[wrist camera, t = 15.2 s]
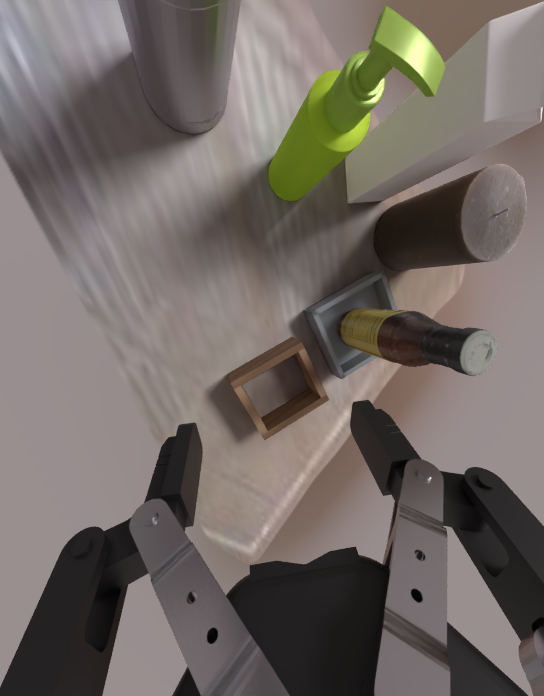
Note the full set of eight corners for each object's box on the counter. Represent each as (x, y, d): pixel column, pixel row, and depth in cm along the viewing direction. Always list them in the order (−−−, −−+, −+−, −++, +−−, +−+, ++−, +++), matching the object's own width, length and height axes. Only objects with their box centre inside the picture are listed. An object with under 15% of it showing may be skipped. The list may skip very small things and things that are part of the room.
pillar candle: (362, 245, 39) (456, 221, 25) (398, 189, 38) (514, 131, 24) (403, 282, 42) (506, 280, 28) (436, 231, 42) (557, 202, 28)
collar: (227, 374, 37) (230, 383, 34) (291, 336, 39) (301, 341, 35) (258, 426, 40) (264, 440, 37) (317, 390, 42) (329, 399, 38)
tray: (303, 310, 38) (311, 312, 36) (370, 272, 40) (384, 270, 37) (331, 373, 42) (341, 379, 39) (392, 335, 44) (406, 339, 41)
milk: (346, 204, 37) (533, 93, 16) (344, 155, 36) (545, -36, 15) (383, 201, 38) (600, 95, 18) (382, 154, 37) (617, -24, 16)
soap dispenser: (308, 212, 36) (429, 123, 17) (262, 188, 34) (341, 56, 15) (322, 169, 35) (466, 26, 16) (276, 142, 33) (380, -59, 14)
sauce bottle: (377, 324, 42) (522, 351, 23) (352, 354, 42) (478, 405, 23) (351, 297, 39) (489, 302, 21) (325, 328, 39) (440, 362, 21)
